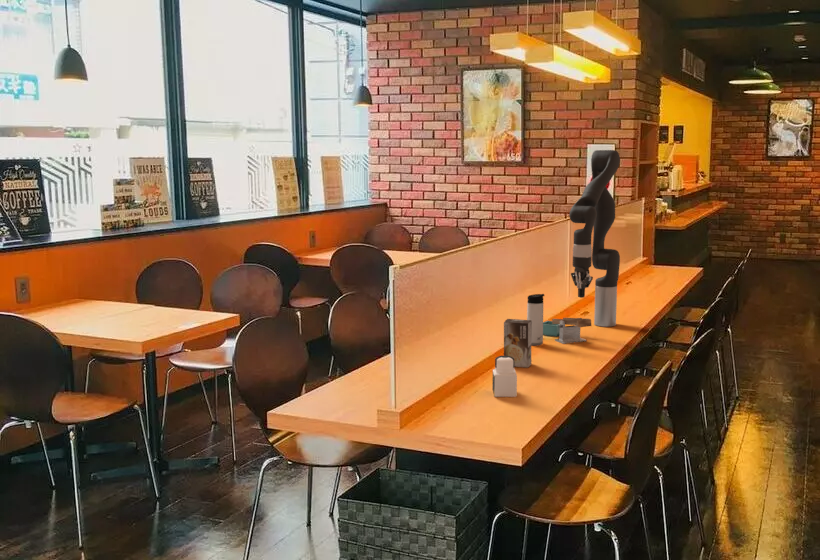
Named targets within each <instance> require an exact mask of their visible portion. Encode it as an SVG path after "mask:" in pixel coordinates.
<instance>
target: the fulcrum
mask: <svg viewBox="0 0 820 560" xmlns="http://www.w3.org/2000/svg"><path fill="white" fill-rule="evenodd" d="M559 328H560V335H559V336H558V337H559V338H555V339H554V342H557V343H559V344H562V345H564V344H573V343H574V342H575V343H583V341H584V342H587V339H586V338H582V337H581V327H577V325H565V321H562V320H560V324H559Z"/></svg>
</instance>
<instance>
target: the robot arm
mask: <svg viewBox="0 0 820 560" xmlns="http://www.w3.org/2000/svg"><path fill="white" fill-rule="evenodd" d="M590 162H591V163H590V166H591V168H590V169H591V177H592V180H591V181H590V182H588V183H587V185H586V186H585V187H584V190H583V191H582V194H581V197H579V199H577V201H576V202H575V203H574V204H573V205H572V207H571V208H570V210H569V219H570V221H571V222H572V223H575V224H584V227H583V228H577V229H575V230H574V231H573V247H572V267H574V268H573V269H574V271H573V272H571V273H570V276H571V280H572V281H573V284H574V286H575V287H576V288H577V296H578V298H580V299H582V298H585V294H586V293H585V292H586V289H587V288H589V287H590V286H591V284H592V281H593V279H594V277H593V275H590V268H591V267H593V268H594V269H596V270H601V271H606V272H605V275H604V276H602V277H597V278H596V279H595V287H594V319H593V320H594V321H593V324H594V326H598V327H607V328H608V327H615V326H616V325H617V306H618V305H617V301H618V299H617V298H618V282H619V275H620V264H621V257H620V253H619V251H618V250H617V249H613V248H605V239H606V236H607V235H608V233H609V231H610V229H611V227H612V226H613V224H614V222H615V219H616V202H615V199H614V198H613V196H612V194H611V193H610V191H609V189H608V188H607V185H608V184H609V183H610V182H611V180H612V178H613V176H615V173H617V171H618V170H619V167H620V163H621V157H620V154H619V152H618V151H617V150H612V149H606V150H605V149H602V150H598V149H596V150H594V151H593V152H592V154H591V159H590ZM592 233H593V234H592ZM592 235H593V237H592Z"/></svg>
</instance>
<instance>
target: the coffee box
mask: <svg viewBox="0 0 820 560" xmlns="http://www.w3.org/2000/svg"><path fill="white" fill-rule="evenodd" d="M531 324H532V321H531V320H527V319H518V318H507V319H505V320H504V322H503V356H511V357H513V358H514V368H515V367H516V368H517V367H518V368H529V367H530V366H531V365H532V345H531Z"/></svg>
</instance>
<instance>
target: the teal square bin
mask: <svg viewBox="0 0 820 560" xmlns="http://www.w3.org/2000/svg"><path fill="white" fill-rule="evenodd" d="M559 335H560V328H559V324H552V320H546V321H543V336H545V337H555V338H557V337H559Z"/></svg>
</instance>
